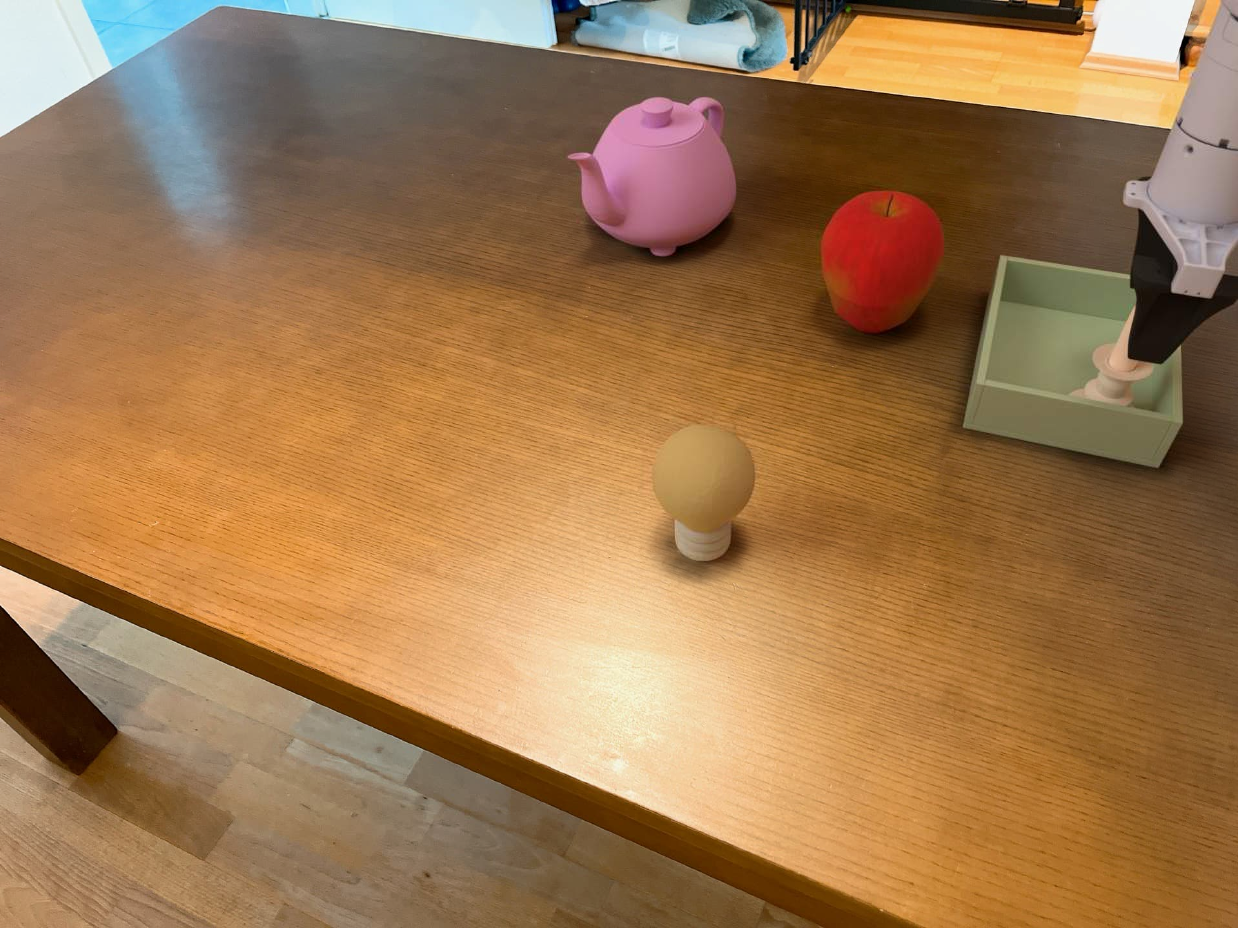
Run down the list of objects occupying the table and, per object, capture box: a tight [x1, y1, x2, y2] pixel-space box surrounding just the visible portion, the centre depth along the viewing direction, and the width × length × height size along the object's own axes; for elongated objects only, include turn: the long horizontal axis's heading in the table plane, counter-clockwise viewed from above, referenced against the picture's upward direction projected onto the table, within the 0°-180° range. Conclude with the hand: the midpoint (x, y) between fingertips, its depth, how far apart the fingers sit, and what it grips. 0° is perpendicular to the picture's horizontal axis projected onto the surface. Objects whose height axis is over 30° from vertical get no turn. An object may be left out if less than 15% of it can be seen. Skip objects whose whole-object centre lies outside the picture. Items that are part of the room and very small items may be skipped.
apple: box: [820, 190, 946, 334], centre depth 73 cm, size 9×9×12 cm
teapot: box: [567, 96, 737, 257], centre depth 84 cm, size 20×14×12 cm
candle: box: [1068, 306, 1154, 408], centre depth 64 cm, size 5×5×10 cm
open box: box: [962, 254, 1184, 469], centre depth 70 cm, size 13×16×4 cm
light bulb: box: [651, 423, 756, 562], centre depth 59 cm, size 6×6×10 cm
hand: (1145, 322), depth 61 cm, fingers open, 7 cm apart
